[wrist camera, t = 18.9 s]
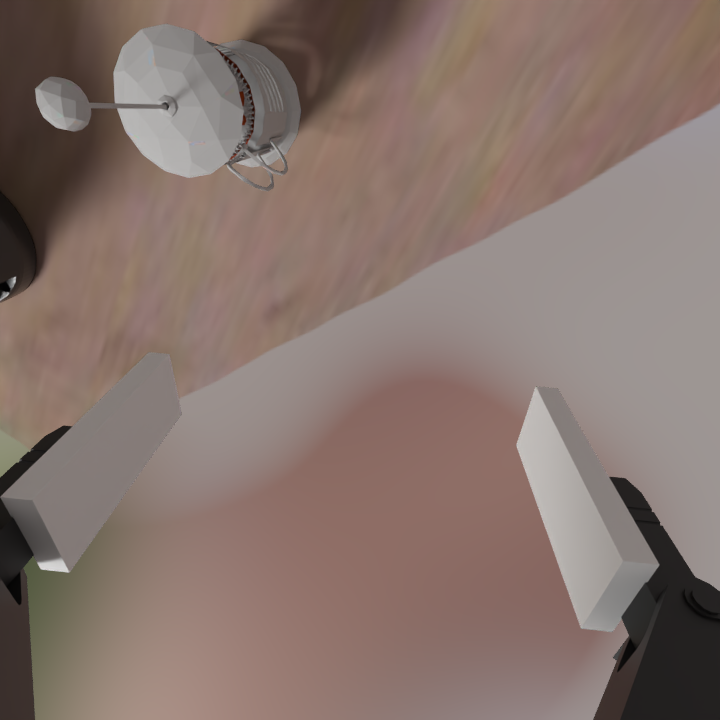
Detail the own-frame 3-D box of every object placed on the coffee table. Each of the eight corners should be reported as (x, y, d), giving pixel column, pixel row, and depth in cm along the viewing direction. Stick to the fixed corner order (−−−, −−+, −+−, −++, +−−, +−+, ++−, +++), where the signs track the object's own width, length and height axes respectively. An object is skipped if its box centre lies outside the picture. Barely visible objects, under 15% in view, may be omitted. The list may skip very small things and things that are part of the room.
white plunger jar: (239, 8, 34) (-28, -164, 13) (337, 128, 38) (259, 153, 17) (171, 103, 38) (-121, 94, 17) (267, 204, 42) (130, 302, 20)
